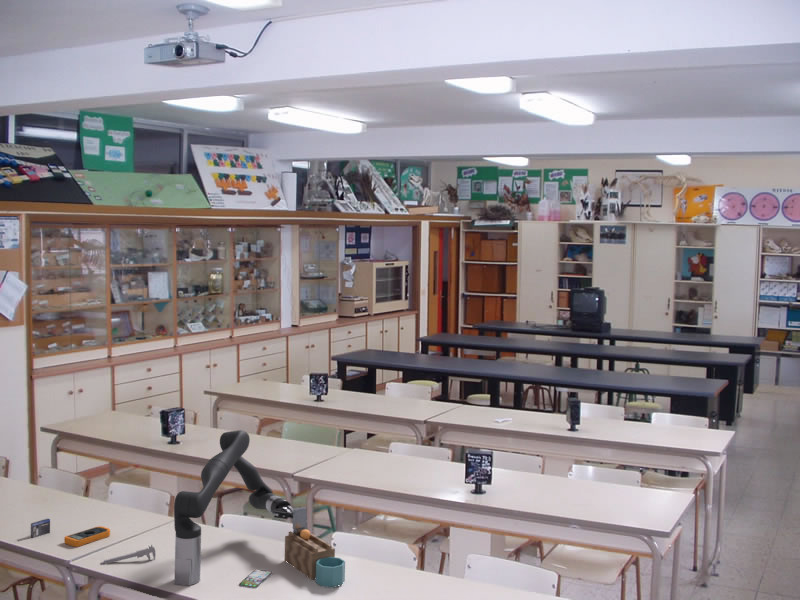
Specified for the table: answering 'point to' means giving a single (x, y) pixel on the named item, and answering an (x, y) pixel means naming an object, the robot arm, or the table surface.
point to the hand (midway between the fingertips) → (298, 517)
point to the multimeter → (87, 536)
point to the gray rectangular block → (299, 520)
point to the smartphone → (255, 578)
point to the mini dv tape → (40, 528)
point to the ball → (305, 534)
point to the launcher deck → (306, 552)
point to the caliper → (132, 555)
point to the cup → (330, 571)
